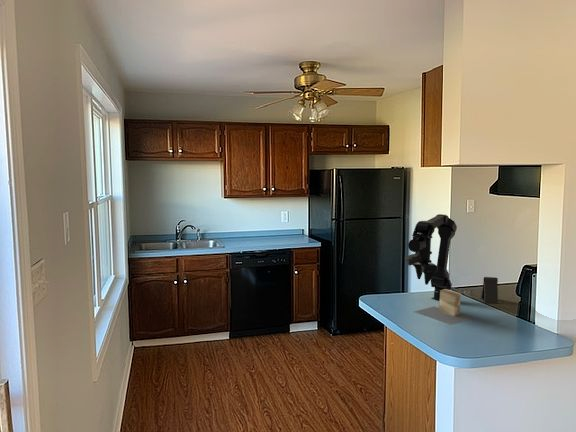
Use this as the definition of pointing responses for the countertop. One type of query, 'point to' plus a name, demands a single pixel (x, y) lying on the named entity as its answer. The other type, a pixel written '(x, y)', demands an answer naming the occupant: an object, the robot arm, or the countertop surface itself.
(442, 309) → the maple block
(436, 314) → the mat
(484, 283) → the phone stand
